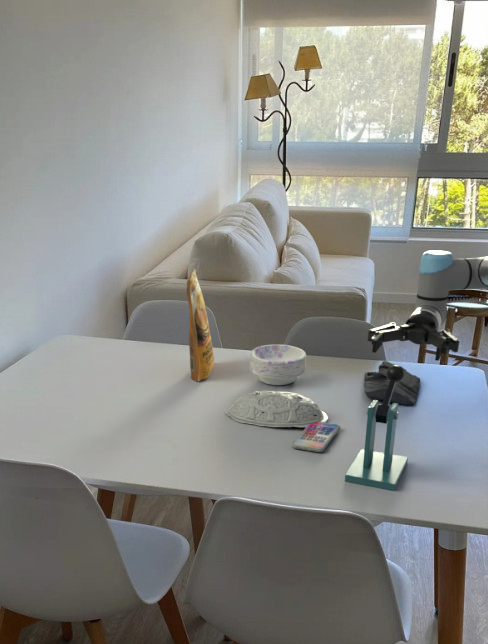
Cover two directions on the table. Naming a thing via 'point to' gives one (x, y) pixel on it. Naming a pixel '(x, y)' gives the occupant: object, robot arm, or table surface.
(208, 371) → the pancake mix bag
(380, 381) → the dark slate chunk
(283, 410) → the carved stone relief
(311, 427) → the smartphone
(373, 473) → the bracket
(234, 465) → the table surface
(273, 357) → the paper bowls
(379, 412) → the lever
